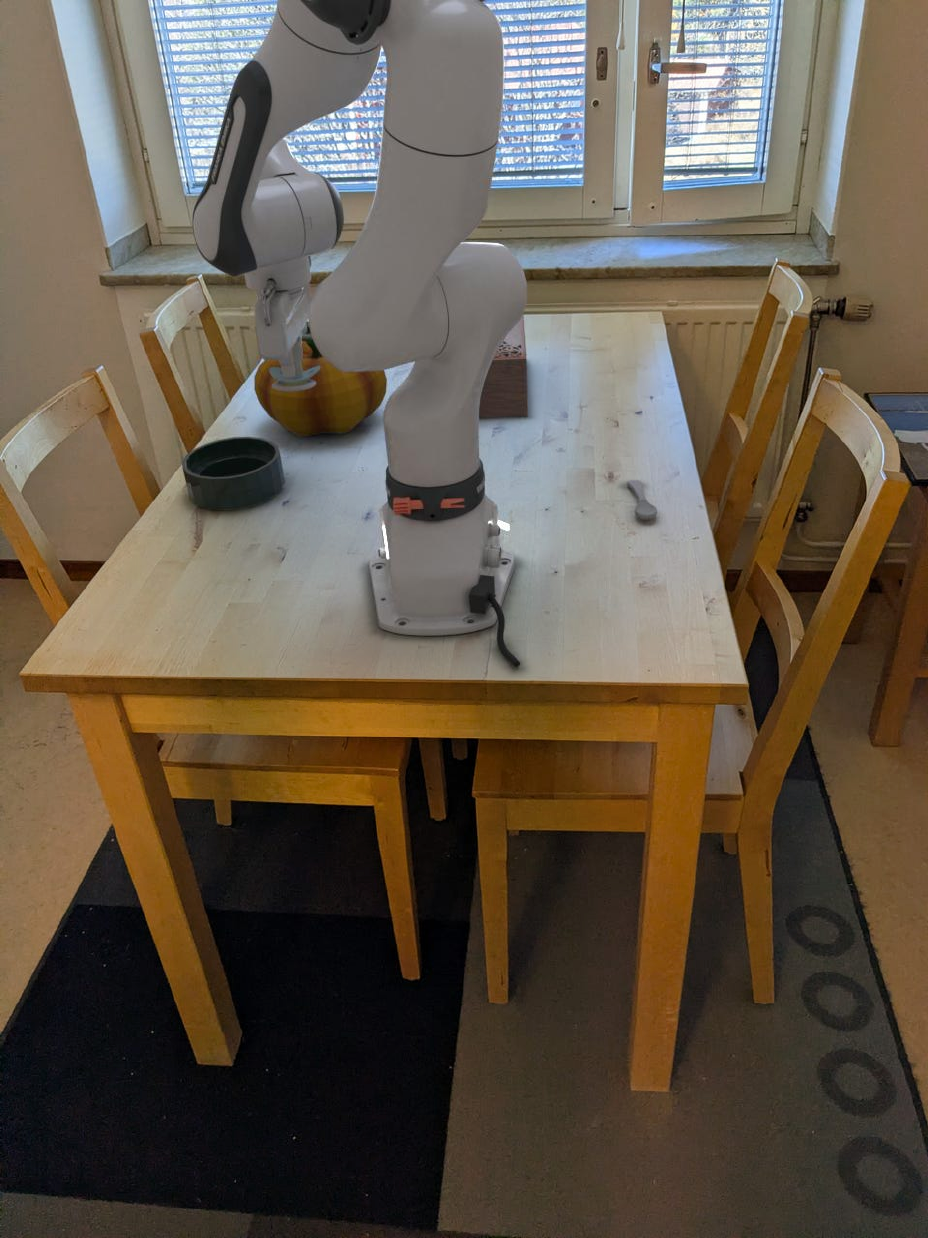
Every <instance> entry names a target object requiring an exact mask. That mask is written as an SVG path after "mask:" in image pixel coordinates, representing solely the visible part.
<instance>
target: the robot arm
mask: <svg viewBox="0 0 928 1238" xmlns="http://www.w3.org/2000/svg"><path fill="white" fill-rule="evenodd" d="M487 1H488V0H277V3H276V9H275V13H274V16H273V20H272V22H271V25H270V27H269V30H268V31H267V34H266V36H265V37H264V39H263V41H262V43H261V44H260V46H259V49H258V50H257V51H256V53H255V54H254V55H253V56H252V58H251V60H250V61H248V62H247V63H246V64H245V66H244V67H242V69H240V71H239V72H238V73H237V75H236V77H235V80H234V82H233V85H232V88H231V91H230V93H229V97H228V101H227V104H226V108H225V111H224V116H223V119H222V121H221V122H222V123H221V127H220V130H219V134H218V138H217V140H216V141H217V142H216V145H215V149H214V152H213V157H212V160H211V164H210V168H209V171H208V174H207V179H206V181H205V184H204V186H203V188H202V189H201V191H200V193H199V195H198V197H197V199H196V202H195V204H194V208H193V212H192V222H191V223H192V232H193V238H194V241H195V244H196V247H197V249H198V251H199V255H200V256H201V258H203V260H205V261H206V262H207V263H208V264H209V265H211V266H212V267H214V268H215V269H217V270H219V271H220V272H222V273H224V274H226V275H228V276H231V277H232V278H233V277H234V278H235V277H238V276H242V275H244V280H245V286H246V288H247V289H249V290H251V291H254V292H256V296H257V299H256V300H255V303H254V323H255V330H256V338H257V344H258V350H259V351H258V352H259V354H260V356H261V358H262V360H263V361H265V360H278V361H279V363H280V365H281V370H282V375H283V377H285V378H287V377H294V376H295V374H296V371H297V370H296V363H295V361H294V360H293V355H292V353H293V350H292V349H293V347H294V345H295V343H296V341H297V342H298V343H299V344H300V345H301V347H302V341H303V340H302V333H301V332H302V330H303V328H304V326H305V324H306V322H309V326H310V331H311V335H312V338H313V341H314V343H315V345H316V347H317V349H318V350H319V352H320V353H321V355H322V356H323V357H324V358H325V359H326V360H327V361H328V362H329V363H330V364H331V365H332V366H334V367H335V368H337V369H338V370H340V371H342V372H364V371H379V370H384V371H386V370H389V369H392V368H397V367H400V366H403V365H407V364H410V363H411V364H412V363H413V365H412V368H411V370H410V371H409V373H408V375H407V376H406V378H404V380H403V382H402V383H401V384H400V385H399V386H398V387H397V388H396V389H395V390H394V391H392V393H391V395H390V396H389V398H388V399H387V401H386V403H385V406H384V411H383V417H382V423H383V431H384V440H385V441H384V442H385V448H386V449H385V450H386V457H387V466H386V468H385V481H384V482H385V483H384V484H385V492H386V497H387V501H386V502H385V503H384V504H383V505H382V506H381V507H380V508H379V509H378V510H379V517H380V527H381V535H382V542H383V546H381V547H379V548H378V550H377V551H378V555H376V556H374V557H372V558H371V559H370V560H369V562H368V569H369V577H370V583H371V588H372V593H373V601H374V606H375V612H376V618H377V624H378V627H379V628H380V629H381V630H383V631H386V632H390V633H394V634H399V635H406V636H421V637H423V636H424V637H425V636H452V635H461V634H467V633H473V632H478V631H481V630H484V629H486V628H490V627H492V626H494V625H495V624H496V622H497V631H496V643H497V646H498V649H499V651H500V652H501V653H502V655H503V656H504V657H505V658H506V659H507V660H508V661H509V662H510V663H511V664H512V665H513V666H514V667H515V668H518V667H519V666H520V665H521V662H520V661H519V660H518V659H517V657H516V656H515V655H514V654H513V653H512V652H511V651H510V650H509V649H508V647H507V646H506V644H505V640H504V634H505V633H504V632H505V627H506V626H505V625H506V623H505V622H506V621H505V619H506V618H505V614H504V612H503V609H502V606H503V603H504V600H505V597H506V594H507V591H508V588H509V586H510V582H511V580H512V576H513V573H514V571H515V568H516V565H517V562H516V556H515V554H513V553H512V552H509V551H507V550H504V549H502V547H501V539H500V538H501V537H500V535H501V529H502V530H505V531H507V532H508V531H510V524H509V523H507V522H504V521H502V520H499V509H498V504H497V503H495V501H493V500H492V499H491V498H489V496H487V494H486V473H485V469H484V463H483V461H482V459H481V458H480V419H479V405H480V398H481V393H482V389H483V385H484V382H485V379H486V376H487V373H488V370H489V368H490V365H491V363H492V360H493V358H494V356H495V354H496V352H497V350H498V348H499V347H500V345H501V343H502V342H503V340H504V339H505V337H506V336H507V335H508V333H509V332H510V331H511V330H512V329H513V328H514V327H515V325H516V324H517V323H518V322H519V321H520V319H521V317H522V315H523V314H524V312H525V309H526V306H527V301H528V284H527V283H528V282H527V278H526V275H525V271H524V268H523V266H522V264H521V263H520V261H519V259H518V258H517V256H516V255H515V254H514V253H513V252H512V250H510V249H509V248H508V247H507V246H505V245H503V244H501V243H498V242H482V241H478V242H477V241H476V242H475V241H467V242H466V240H467V239H468V238H469V237H470V236H472V234H473V233H474V232H475V231H476V230H477V228H478V227H479V226H480V225H481V223H482V222H483V219H484V217H485V215H486V214H487V210H488V207H489V201H490V194H491V188H492V183H493V177H494V169H495V164H496V157H497V151H498V144H499V137H500V131H501V123H502V115H503V105H504V89H505V88H504V86H505V48H504V47H505V46H504V45H505V44H504V35H503V29H502V26H501V23H500V21H499V19H498V17H497V16H496V14H495V12H494V11H493V10H492V9H491V8H490V7H489V6H488V5H487V4H486V3H484V2H487ZM382 51H383V53H384V57H385V63H386V83H385V84H386V85H385V92H384V93H385V94H384V101H383V112H382V113H383V114H382V124H381V125H382V126H381V141H380V151H379V161H378V171H377V179H376V186H375V192H374V197H373V201H372V204H371V207H370V210H369V213H368V215H367V218H366V220H365V223H364V224H363V226H362V229H361V230H360V233H359V234H358V236H357V238H356V240H355V242H354V244H353V245H352V247H351V249H350V250H349V251H348V253H347V254H346V256H345V257H344V258H343V259H342V261H340V263H339V264H338V265H337V266H336V268H335V269H334V270H332V272H331V273H329V275H328V276H327V277H325V278H324V279H323V280H322V281H321V282H319V283H318V284H317V285H316V288H315V289H314V292H313V293H312V294H311V281H312V273H311V267H312V257H311V256H315V255H319V254H322V253H325V252H327V251H329V250H333V249H334V248H335V246H336V245H337V244H338V243H339V240H340V238H341V236H342V233H343V229H344V225H345V214H344V207H343V202H342V198H341V195H340V193H339V190H338V189H337V188H336V186H335V185H334V184H333V183H332V182H331V181H330V180H329V179H328V178H326V177H325V176H324V175H322V174H320V173H319V172H312V171H311V170H309V169H308V168H306V167H305V166H304V165H302V164H301V163H300V162H299V161H298V160H297V159H295V157H294V155H293V154H292V151H291V148H290V146H289V143H288V142H287V141H286V140H285V139H284V138H286V137H287V136H289V135H290V134H292V133H294V132H295V131H297V130H299V129H300V128H303V127H305V126H307V125H309V124H311V123H314V122H315V121H318V120H320V119H322V118H324V117H327V116H329V115H331V114H334V113H337V112H339V111H341V110H343V109H345V108H347V107H349V106H350V105H351V104H353V103H354V102H355V101H358V99H359V98H360V97H361V96H362V95H363V94H364V93H365V91H367V88H368V87H369V85H370V83H371V82H372V80H373V78H374V76H375V73H376V71H377V69H378V66H379V62H380V59H381V55H382ZM302 359H303V357H302ZM302 359H301V362H302Z"/></svg>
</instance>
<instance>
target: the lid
mask: <svg viewBox="0 0 928 1238" xmlns="http://www.w3.org/2000/svg"><path fill="white" fill-rule="evenodd" d="M301 333H302V341H307V339H310V338H311V339H312V340H313V338H312V335H311V331H310V326H309V321H307V322H306V324H305V326H304V328H303V330H302V332H301Z"/></svg>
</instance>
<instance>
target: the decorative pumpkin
mask: <svg viewBox="0 0 928 1238" xmlns="http://www.w3.org/2000/svg"><path fill="white" fill-rule="evenodd" d="M302 350H303V356H302V357H303V359H302V362H301V363H302V370H303V371H306V370H308V369H311V368H313V367H316V366H319V365H320V370H319V371H318V372H317V373H316V374H315V375H313V376H312V377H310V378H309V379H312V380H314V381H315V382H316V385H315V386H314V387H312V388H310V389H306V390H301V391H279V390H275V389H273V388H272V384H273V383H275V382H277V381H278V380H276V379H274V378H273V377H272V376H271V374H270V372H269V369H270V368H271V367H279V368H281V365H280V363H279V361H278V360H263V361H262V362H261V363H260V364H259V365H258V367H257V370H256V372H255V374H254V379H253V380H254V382H253V383H254V385H253V386H254V392H255V395H256V398H257V400H258V402H259V405H260V406H261V408H262V410H263V411H265V413H266V414H267V415H268V416H269V418H271V419H273V420H275V421H276V422H277V423H279V425H281V426H282V427H283V428H284V429H286V430H288V431H290V432H291V433H293V434H295V435H296V436H298V437H309V436H311V437H312V436H317V435H320V434H333V435H335V434H337V435H338V434H340V435H341V434H347V433H348V432H350V431H351V430H353V429H354V428H356V427H357V426H358V424H360V422H361V421H364V420H366V419H368V418H369V417H370V416H372V415H373V414H374V413H375V412H376V411H377V410H378V409H379V408H380V406H381V405H382V404H383V401H384V399H385V396H386V394H387V386H388V378H387V376H386V371H385V370H379V371H364V372H342V371H340V370H338V369H337V368H335V367H334V366H332V365H331V364H330V363H329V362H328V361H327V360H326V359H325V358H324V357H323V356H322V355H321V353H320V352H319V350H318V349H317V347H316V345H315V343H314V341H313V340H312V339H311V338H310V339H307V340H302ZM280 374H282V373H280ZM281 386H285V385H284V384H283V385H281Z"/></svg>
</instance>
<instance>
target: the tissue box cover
mask: <svg viewBox="0 0 928 1238" xmlns="http://www.w3.org/2000/svg"><path fill="white" fill-rule="evenodd" d="M527 360H528V359H527V345H526V332H525V316H524V313H523V315H522V317H521V319H520V321H519V322H518V323H517V324H516V325H515V327H514V328H513V329H512V330H511V331H510V332H509V333H508V335H507V336H506V337H505V339H504V340H503V342H502V343H501V345H500V347H499V348H498V350H497V352H496V354H495V356H494V358H493V360H492V363H491V365H490V368H489V370H488V373H487V376H486V379H485V382H484V385H483V389H482V393H481V398H480V405H479V420H481V419H503V418H523V417H524V418H526V417H527V418H528V417H529V415H528V414H529V412H528V367H527V365H528V364H527V363H528V361H527Z"/></svg>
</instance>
